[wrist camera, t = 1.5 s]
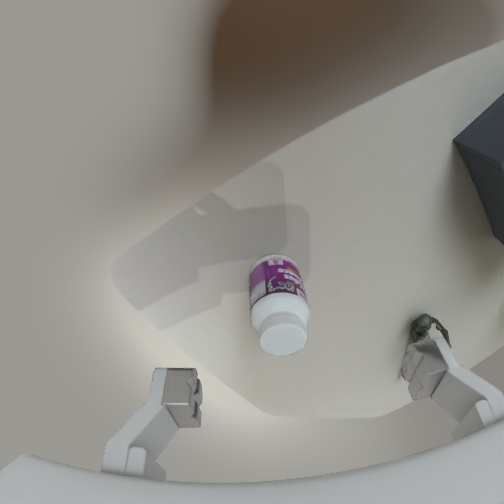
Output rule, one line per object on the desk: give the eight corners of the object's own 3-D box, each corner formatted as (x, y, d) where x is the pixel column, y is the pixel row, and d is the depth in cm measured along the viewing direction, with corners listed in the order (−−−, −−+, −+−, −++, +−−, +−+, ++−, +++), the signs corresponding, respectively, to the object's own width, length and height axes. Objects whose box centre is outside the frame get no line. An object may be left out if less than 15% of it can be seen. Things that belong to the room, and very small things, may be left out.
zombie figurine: (412, 404, 40) (421, 343, 32) (400, 370, 46) (402, 305, 38) (443, 392, 39) (460, 329, 31) (429, 360, 45) (438, 293, 37)
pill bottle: (308, 263, 34) (328, 329, 25) (283, 299, 36) (295, 367, 28) (262, 244, 32) (270, 310, 24) (239, 283, 35) (240, 352, 26)
